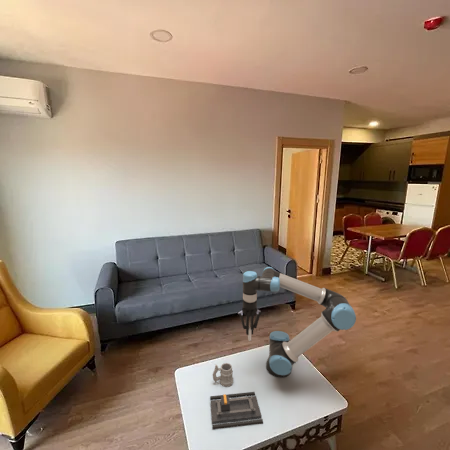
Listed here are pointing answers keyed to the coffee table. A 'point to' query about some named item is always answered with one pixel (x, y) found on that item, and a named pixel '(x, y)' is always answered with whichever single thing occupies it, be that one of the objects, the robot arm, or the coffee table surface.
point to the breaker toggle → (225, 403)
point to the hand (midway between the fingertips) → (249, 339)
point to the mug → (224, 374)
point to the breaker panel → (236, 410)
